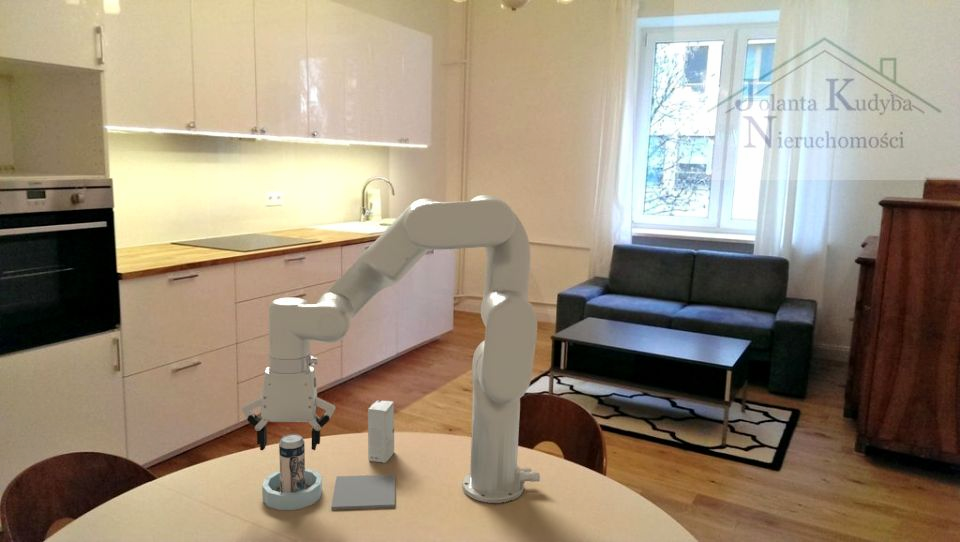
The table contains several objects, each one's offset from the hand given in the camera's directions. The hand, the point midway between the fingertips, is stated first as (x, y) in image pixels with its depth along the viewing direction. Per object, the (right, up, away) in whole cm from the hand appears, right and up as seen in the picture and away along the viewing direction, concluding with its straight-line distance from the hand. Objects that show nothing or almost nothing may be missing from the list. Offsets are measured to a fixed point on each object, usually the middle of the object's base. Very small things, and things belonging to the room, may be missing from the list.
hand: (289, 447), depth 129 cm
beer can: (0, -10, +2) cm, 10 cm away
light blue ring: (0, -10, +2) cm, 10 cm away
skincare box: (+15, -8, +20) cm, 26 cm away
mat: (+14, -10, +4) cm, 18 cm away
